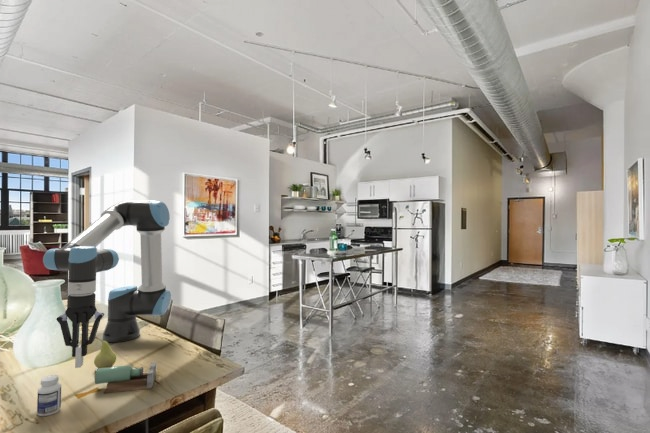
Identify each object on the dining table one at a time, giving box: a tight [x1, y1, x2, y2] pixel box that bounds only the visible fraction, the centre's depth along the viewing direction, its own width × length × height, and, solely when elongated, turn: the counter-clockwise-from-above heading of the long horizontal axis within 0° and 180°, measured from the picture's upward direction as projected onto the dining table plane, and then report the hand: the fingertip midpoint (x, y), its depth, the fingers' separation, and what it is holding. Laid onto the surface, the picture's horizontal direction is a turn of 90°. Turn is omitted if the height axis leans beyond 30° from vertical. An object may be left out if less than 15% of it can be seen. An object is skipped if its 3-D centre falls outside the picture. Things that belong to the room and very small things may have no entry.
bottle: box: [94, 364, 144, 385], centre depth 117 cm, size 5×5×14 cm
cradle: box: [103, 361, 157, 394], centre depth 118 cm, size 9×14×5 cm, turn 108°
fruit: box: [93, 336, 117, 369], centre depth 130 cm, size 7×8×12 cm
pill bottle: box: [36, 374, 62, 417], centre depth 101 cm, size 5×5×10 cm
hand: (79, 365), depth 113 cm, fingers closed
